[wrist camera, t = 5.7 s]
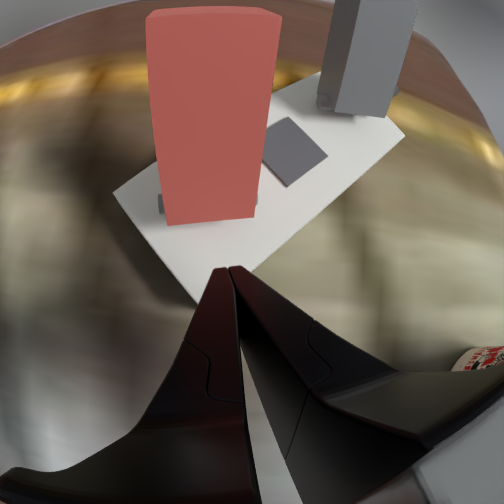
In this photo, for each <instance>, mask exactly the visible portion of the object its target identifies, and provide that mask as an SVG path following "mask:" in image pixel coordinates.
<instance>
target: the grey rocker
mask: <svg viewBox="0 0 504 504" xmlns="http://www.w3.org/2000/svg"><path fill="white" fill-rule="evenodd" d="M418 6H419V2H417V1H415V0H335V4H334V10H333V15H332V20H331V25H330V30H329V35H328V40H327V45H326V50H325V55H324V60H323V65H322V70H321V75H320V79H319V84H318V89H317V93H316V94H317V95H318V96H317V99H316V105H317V108H318V109H325V110H333V111H334V112H338V113H348V114H357V115H365V116H372V117H379V118H385V116H386V113H387V111H388V108H389V105H390V102H391V99H392V96H393V93H394V90H395V87H396V84H397V81H398V77H399V74H400V71H401V68H402V65H403V61H404V58H405V55H406V51H407V48H408V44H409V41H410V37H411V33H412V30H413V26H414V22H415V18H416V14H417V10H418Z"/></svg>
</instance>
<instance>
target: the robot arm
mask: <svg viewBox="0 0 504 504" xmlns="http://www.w3.org/2000/svg"><path fill="white" fill-rule="evenodd" d="M240 346H241V348H242V351H243V354H244V357H245V360H246V362H247V365H248V368H249V370H250V373H251V376H252V379H253V381H254V384H255V387H256V389H257V392H258V395H259V397H260V400H261V402H262V405H263V408H264V410H265V413H266V415H267V418H268V420H269V423H270V425H271V428H272V431H273V433H274V436H275V438H276V441H277V443H278V445H279V448H280V450H281V453H282V455H283V458H284V460H285V463H286V465H287V467H288V470H289V472H290V475H291V477H292V479H293V482H294V484H295V486H296V489H297V491H298V493H299V495H300V498H301V500H302V502H303V504H504V361H503V362H501V363H500V364H498V365H495V366H492V367H488V368H484V369H477V370H465V371H450V372H426V373H413V372H406V371H402V370H399V369H397V368H394V367H392V366H390V365H388V364H386V363H385V362H383V361H381V360H379V359H377V358H376V357H374V356H372V355H370V354H368V353H367V352H365V351H363V350H361V349H360V348H358V347H356V346H354V345H353V344H351V343H349V342H348V341H346V340H344V339H343V338H341V337H339V336H338V335H336V334H335V333H333V332H332V331H330V330H329V329H327V328H326V327H324V326H323V325H322V324H320V323H319V322H318V321H316V320H314V319H313V318H312V317H311V316H309V315H308V314H307V313H305V312H304V311H302V310H301V309H300V308H298V307H297V306H296V305H294V304H293V303H292V302H290V301H289V300H287V299H286V298H285V297H283V296H282V295H281V294H279V293H278V292H277V291H275V290H274V289H273V288H271V287H270V286H269V285H267V284H266V283H265V282H263V281H262V280H260V279H259V278H258V277H256V276H255V275H254V274H252V273H251V272H250V271H248V270H247V269H246V268H244V267H243V266H241V265H237V266H230V267H228V268H227V267H220V268H214V269H213V271H212V273H211V275H210V278H209V280H208V282H207V285H206V287H205V289H204V292H203V294H202V296H201V299H200V301H199V303H198V306H197V308H196V311H195V313H194V315H193V318H192V320H191V322H190V325H189V327H188V330H187V332H186V334H185V337H184V341H182V344H181V346H180V349H179V351H178V353H177V355H176V358H175V360H174V362H173V364H172V366H171V368H170V370H169V372H168V373H167V375H166V377H165V379H164V381H163V382H162V384H161V386H160V387H159V389H158V391H157V392H156V394H155V396H154V397H153V399H152V401H151V402H150V404H149V406H148V407H147V409H146V411H145V412H144V414H143V416H142V417H141V419H140V420H139V422H138V423H137V424H136V426H135V427H134V428H133V429H132V430H131V431H130V432H129V433H128V434H126V435H125V436H123V437H122V438H120V439H119V440H117V441H115V442H114V443H112V444H110V445H109V446H107V447H105V448H104V449H102V450H100V451H99V452H97V453H95V454H94V455H92V456H90V457H88V458H87V459H85V460H83V461H81V462H80V463H78V464H76V465H74V466H72V467H70V468H67V469H64V470H60V471H56V472H40V471H36V470H31V469H27V468H22V467H14V468H11V469H10V470H8V471H7V472H6V473H4V474H3V475H1V476H0V501H2V502H4V503H6V504H262V500H261V495H260V490H259V485H258V480H257V474H256V469H255V463H254V458H253V452H252V446H251V441H250V435H249V429H248V422H247V413H246V403H245V393H244V382H243V372H242V361H241V349H240Z"/></svg>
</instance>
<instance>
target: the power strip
mask: <svg viewBox="0 0 504 504" xmlns="http://www.w3.org/2000/svg"><path fill="white" fill-rule="evenodd" d="M320 75H321V71H320V72H318V73H316V74H313V75H311V76H309V77H306V78H304V79H302V80H300V81H298V82H295V83H293V84H291V85H289V86H287V87H285V88H282V89H280V90H278V91H276V92H274V93H272V94H271V100H270V107H269V114H268V121H267V128H266V135H265V142H264V150H263V157H262V164H261V171H260V178H259V185H258V204H257V205H256V207H255V214H254V218H244V219H233V220H222V221H212V222H202V223H192V224H183V225H173V226H167V221H166V215H165V214H161V215H160V214H159V208H158V194H162V191H161V185H160V178H159V171H158V164H157V161H156V162H154V163H153V164H151V165H150V166H149V167H147V168H146V169H144V170H143V171H141V172H140V173H139V174H137V175H136V176H134V177H133V178H132V179H130V180H129V181H128V182H126V183H125V184H124V185H122V186H121V187H120V188H118V189H117V190H116V191H114V192H113V194H114V196H115V197H116V199H117V200H118V202H119V204H120V205H121V207H122V208H123V210H124V211H125V213H126V214H127V215H128V217H129V218H130V219H131V221H132V222H133V223H134V225H135V226H136V228H137V229H138V230H139V232H140V233H141V234H142V236H143V237H144V238H145V240H146V241H147V242H148V243H149V245H150V246H151V247H152V249H153V250H154V251H155V253H156V254H157V255H158V256H159V258H160V259H161V260H162V262H163V263H164V264H165V265H166V267H167V268H168V269H169V270H170V272H171V273H172V274H173V275H174V277H175V278H176V279H177V280H178V282H179V283H180V284H181V285H182V286H183V288H184V289H185V290H186V291H187V293H188V294H189V295H190V296H191V297H192V299H193V300H194V301H195V302H196V303H197V305H198V303H199V301H200V299H201V296H202V294H203V292H204V289H205V287H206V285H207V282H208V280H209V278H210V275H211V273H212V271H213V269H214V268H220V267H227V268H228V267H230V266H237V265H241V266H243V267H244V268H246V269H247V270H248V271H250V272H252V271H253V270H254V269H255V268H257V267H258V266H259V265H260V264H261V263H262V262H264V261H265V260H266V259H267V258H268V257H269V256H271V255H272V254H273V253H274V252H275V251H276V250H278V249H279V248H280V247H281V246H282V245H283V244H284V243H286V242H287V241H288V240H289V239H290V238H291V237H293V236H294V235H295V234H296V233H297V232H298V231H299V230H301V229H302V228H303V227H304V226H305V225H306V224H307V223H309V222H310V221H311V220H312V219H313V218H314V217H315V216H317V215H318V214H319V213H320V212H321V211H322V210H323V209H325V208H326V207H327V206H328V205H329V204H330V203H331V202H333V201H334V200H335V199H336V198H337V197H338V196H339V195H340V194H342V193H343V192H344V191H345V190H346V189H347V188H348V187H350V186H351V185H352V184H353V183H354V182H355V181H356V180H357V179H359V178H360V177H361V176H362V175H363V174H364V173H365V172H366V171H368V170H369V169H370V168H371V167H372V166H373V165H374V164H375V163H376V162H378V161H379V160H380V159H381V158H382V157H383V156H384V155H385V154H386V153H388V152H389V151H390V150H391V149H392V148H393V147H394V146H395V145H396V144H397V143H398V142H399V141H400V140H401V139H402V138H404V137H405V135H404V134H403V133H402V132H401V131H400V130H399V128H398V127H397V126H396V125H395V124H394V123H393V122H392V121H391V120H390V119H389V118H388V117H387V116H385V118H379V117H372V116H365V115H357V114H348V113H338V112H334V111H333V110H325V109H318V108H317V105H316V99H317V96H318V95H317V94H316V93H317V89H318V84H319V79H320ZM398 93H399V88H398V86H397V85H396V87H395V90H394V93H393V96H392V97H394V96H396V95H397V94H398Z"/></svg>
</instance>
